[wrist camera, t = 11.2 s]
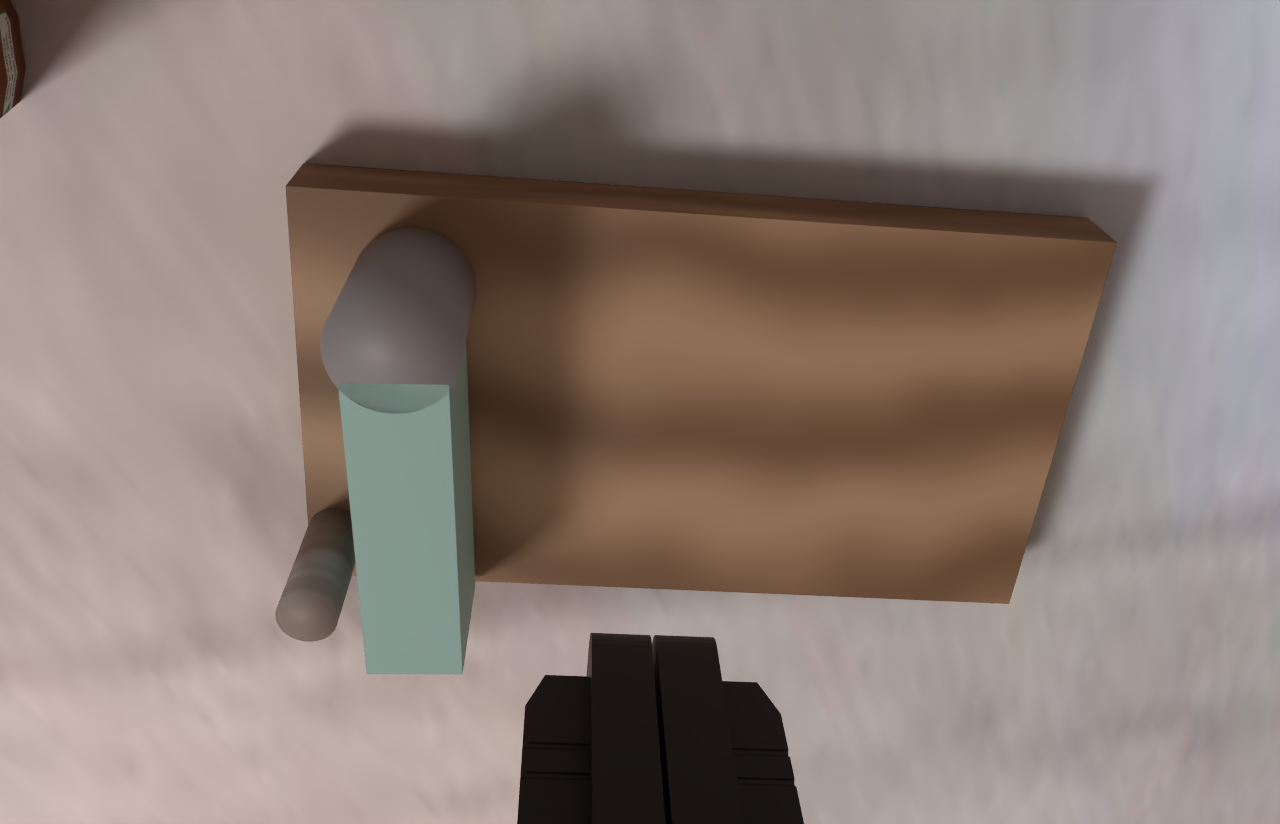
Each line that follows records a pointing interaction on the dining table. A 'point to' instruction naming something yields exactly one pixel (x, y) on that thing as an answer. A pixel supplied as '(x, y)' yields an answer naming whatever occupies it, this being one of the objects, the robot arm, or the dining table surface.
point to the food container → (10, 58)
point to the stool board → (717, 384)
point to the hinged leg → (407, 446)
